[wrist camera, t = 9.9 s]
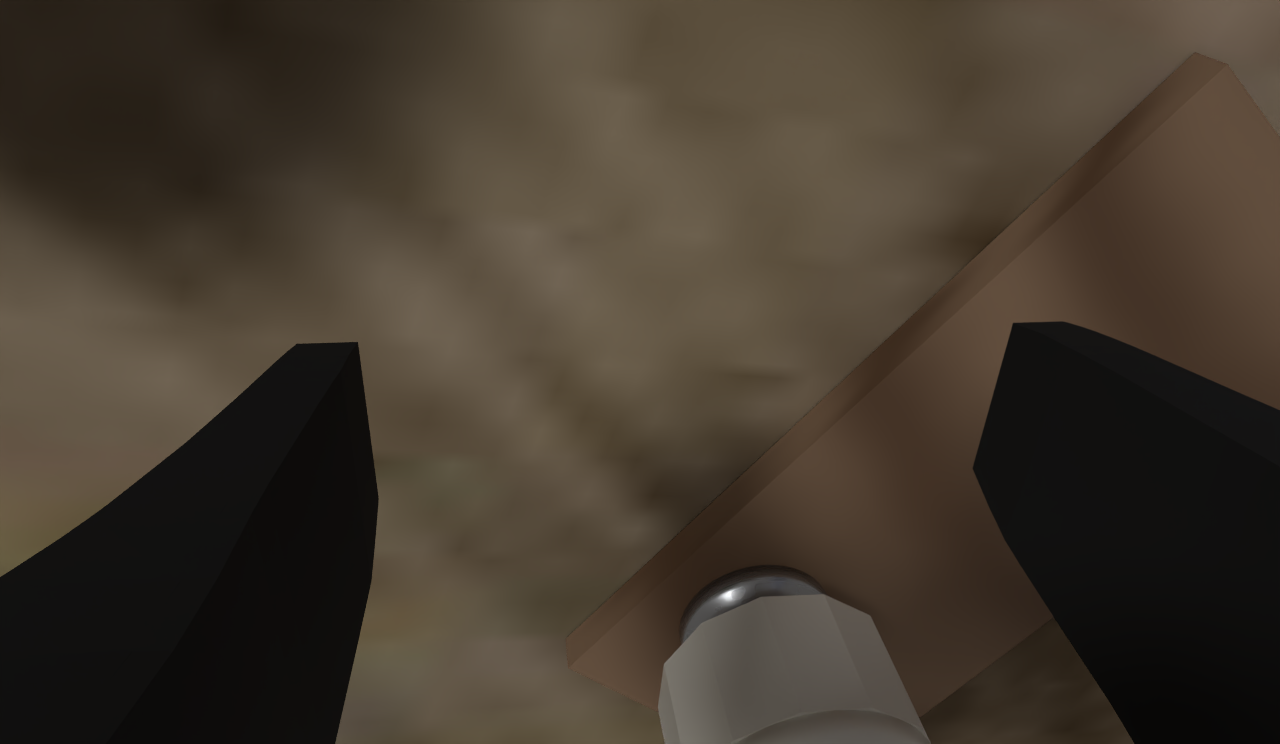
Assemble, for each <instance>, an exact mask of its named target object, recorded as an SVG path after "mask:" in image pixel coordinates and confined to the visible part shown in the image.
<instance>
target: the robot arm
mask: <svg viewBox="0 0 1280 744" xmlns="http://www.w3.org/2000/svg"><path fill="white" fill-rule="evenodd" d="M972 469H973V471H974V473H975V476H976V478H977V480H978V483H979V485H980V487H981V490H982V492H983V494H984V497H985V499H986V501H987V504H988V506H989V508H990V510H991V513H992V515H993V517H994V519H995V521H996V523H997V525H998V527H999V529H1000V531H1001V533H1002V535H1003V537H1004V540H1005V541H1006V543H1007V545H1008V546H1009V548H1010V550H1011V551H1012V553H1013V554H1014V556H1015V558H1016V559H1017V561H1018V562H1019V564H1020V566H1021V567H1022V569H1023V570H1024V572H1025V573H1026V575H1027V576H1028V578H1029V580H1030V581H1031V583H1032V584H1033V586H1034V587H1035V589H1036V591H1037V592H1038V594H1039V595H1040V597H1041V598H1042V600H1043V601H1044V603H1045V604H1046V606H1047V607H1048V609H1049V610H1050V612H1051V614H1052V615H1053V617H1054V618H1055V620H1056V621H1057V623H1058V624H1059V626H1060V627H1061V629H1062V630H1063V632H1064V633H1065V635H1066V636H1067V638H1068V639H1069V641H1070V642H1071V644H1072V645H1073V647H1074V648H1075V650H1076V652H1077V653H1078V655H1079V656H1080V658H1081V659H1082V661H1083V662H1084V664H1085V665H1086V667H1087V668H1088V670H1089V671H1090V673H1091V674H1092V676H1093V677H1094V679H1095V680H1096V682H1097V683H1098V685H1099V687H1100V688H1101V690H1102V691H1103V693H1104V694H1105V696H1106V697H1107V699H1108V700H1109V702H1110V703H1111V705H1112V707H1113V708H1114V710H1115V712H1116V713H1117V715H1118V717H1119V718H1120V720H1121V722H1122V723H1123V725H1124V727H1125V728H1126V730H1127V732H1128V733H1129V735H1130V737H1131V738H1132V740H1133V742H1134V743H1135V744H1280V410H1278V409H1276V408H1274V407H1271V406H1269V405H1267V404H1264V403H1262V402H1260V401H1257V400H1255V399H1253V398H1250V397H1248V396H1246V395H1244V394H1241V393H1239V392H1237V391H1234V390H1232V389H1230V388H1228V387H1225V386H1223V385H1221V384H1218V383H1216V382H1214V381H1212V380H1209V379H1207V378H1205V377H1203V376H1200V375H1198V374H1196V373H1194V372H1191V371H1189V370H1187V369H1184V368H1182V367H1180V366H1178V365H1175V364H1173V363H1171V362H1168V361H1166V360H1164V359H1162V358H1159V357H1157V356H1155V355H1152V354H1150V353H1148V352H1146V351H1143V350H1141V349H1138V348H1136V347H1134V346H1131V345H1129V344H1126V343H1124V342H1121V341H1119V340H1117V339H1114V338H1112V337H1109V336H1106V335H1104V334H1101V333H1099V332H1096V331H1093V330H1090V329H1087V328H1084V327H1081V326H1078V325H1074V324H1071V323H1068V322H1064V321H1056V322H1022V323H1013V324H1012V328H1011V332H1010V335H1009V339H1008V342H1007V346H1006V350H1005V353H1004V357H1003V360H1002V364H1001V368H1000V371H999V375H998V378H997V382H996V385H995V389H994V393H993V396H992V400H991V403H990V407H989V411H988V414H987V418H986V421H985V425H984V429H983V432H982V436H981V439H980V443H979V447H978V450H977V454H976V457H975V461H974V464H973V468H972ZM378 500H379V498H378V491H377V483H376V476H375V468H374V460H373V453H372V445H371V438H370V430H369V423H368V415H367V408H366V400H365V393H364V385H363V377H362V370H361V362H360V355H359V347H358V342H345V343H311V344H296V345H295V346H294V347H292V348H291V349H290V350H289V351H287V352H286V353H285V354H284V355H283V356H282V357H281V358H280V359H278V360H277V361H276V362H275V363H274V364H273V365H272V366H271V367H270V368H269V369H267V370H266V371H265V372H264V373H263V374H262V375H261V376H260V377H259V378H258V379H257V380H256V381H254V382H253V383H252V384H251V385H250V386H249V387H248V388H247V389H246V390H245V391H244V392H243V393H241V394H240V395H239V396H238V397H237V398H236V399H235V400H234V401H233V402H231V403H230V404H229V405H228V406H227V407H226V408H225V409H224V410H222V411H221V412H220V413H219V414H218V415H217V416H216V417H214V418H213V419H212V420H211V421H210V422H209V423H208V424H207V425H205V426H204V427H203V428H202V429H201V430H200V431H199V432H197V433H196V434H195V435H194V436H193V437H192V438H191V439H190V440H188V441H187V442H186V443H185V444H184V445H182V446H181V447H180V448H179V449H177V450H176V451H175V452H174V453H172V454H171V455H170V456H169V457H167V458H166V459H165V460H163V461H162V462H161V463H160V464H158V465H157V466H156V467H155V468H153V469H152V470H151V471H150V472H148V473H147V474H146V475H145V476H143V477H142V478H141V479H139V480H138V481H137V482H136V483H134V484H133V485H132V486H131V487H129V488H128V489H127V490H126V491H124V492H123V493H122V494H120V495H119V496H118V497H117V498H115V499H114V500H113V501H112V502H110V503H109V504H108V505H106V506H105V507H104V508H102V509H101V510H100V511H98V512H97V513H95V514H94V515H93V516H91V517H90V518H89V519H87V520H86V521H84V522H83V523H81V524H80V525H79V526H77V527H76V528H74V529H73V530H71V531H70V532H69V533H67V534H66V535H64V536H63V537H61V538H60V539H58V540H57V541H55V542H54V543H52V544H51V545H49V546H48V547H46V548H45V549H43V550H42V551H40V552H38V553H37V554H35V555H34V556H32V557H31V558H29V559H28V560H26V561H25V562H23V563H22V564H20V565H18V566H17V567H15V568H14V569H12V570H11V571H9V572H8V573H6V574H5V575H3V576H1V577H0V744H335V742H336V737H337V733H338V728H339V724H340V719H341V715H342V711H343V706H344V702H345V697H346V693H347V689H348V684H349V680H350V675H351V671H352V666H353V662H354V658H355V653H356V649H357V644H358V640H359V635H360V631H361V626H362V622H363V617H364V613H365V608H366V603H367V599H368V594H369V589H370V585H371V579H372V569H373V559H374V548H375V537H376V525H377V512H378Z"/></svg>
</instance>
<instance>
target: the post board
mask: <svg viewBox="0 0 1280 744" xmlns="http://www.w3.org/2000/svg"><path fill="white" fill-rule="evenodd" d="M1056 321H1064V322H1068V323H1071V324H1074V325H1078V326H1081V327H1084V328H1087V329H1090V330H1093V331H1096V332H1099V333H1101V334H1104V335H1106V336H1109V337H1112V338H1114V339H1117V340H1119V341H1121V342H1124V343H1126V344H1129V345H1131V346H1134V347H1136V348H1138V349H1141V350H1143V351H1146V352H1148V353H1150V354H1152V355H1155V356H1157V357H1159V358H1162V359H1164V360H1166V361H1168V362H1171V363H1173V364H1175V365H1178V366H1180V367H1182V368H1184V369H1187V370H1189V371H1191V372H1194V373H1196V374H1198V375H1200V376H1203V377H1205V378H1207V379H1209V380H1212V381H1214V382H1216V383H1218V384H1221V385H1223V386H1225V387H1228V388H1230V389H1232V390H1234V391H1237V392H1239V393H1241V394H1244V395H1246V396H1248V397H1250V398H1253V399H1255V400H1257V401H1260V402H1262V403H1264V404H1267V405H1269V406H1271V407H1274V408H1276V409H1278V410H1280V137H1279V136H1278V134H1277V133H1276V131H1275V130H1274V129H1273V127H1272V126H1271V124H1270V123H1269V122H1268V120H1267V119H1266V117H1265V116H1264V115H1263V113H1262V112H1261V110H1260V109H1259V108H1258V106H1257V105H1256V103H1255V102H1254V101H1253V99H1252V98H1251V96H1250V95H1249V94H1248V92H1247V91H1246V89H1245V88H1244V87H1243V85H1242V84H1241V82H1240V81H1239V79H1238V78H1237V77H1236V75H1235V74H1234V72H1233V71H1232V70H1231V68H1230V67H1229V65H1228V64H1225V63H1223V62H1220V61H1217V60H1215V59H1212V58H1209V57H1206V56H1204V55H1201V54H1198V53H1194V54H1193V55H1192V56H1191V57H1189V58H1188V59H1187V60H1186V61H1185V62H1184V63H1183V64H1182V65H1181V66H1180V67H1179V68H1178V69H1177V70H1176V71H1174V72H1173V73H1172V74H1171V75H1170V76H1169V77H1168V78H1167V79H1166V80H1165V81H1164V82H1163V83H1162V84H1160V85H1159V86H1158V87H1157V88H1156V89H1155V90H1154V91H1153V92H1152V93H1151V94H1150V95H1149V96H1148V97H1147V98H1145V99H1144V100H1143V101H1142V102H1141V103H1140V104H1139V105H1138V106H1137V107H1136V108H1135V109H1134V110H1133V111H1132V112H1130V113H1129V114H1128V115H1127V116H1126V117H1125V118H1124V119H1123V120H1122V121H1121V122H1120V123H1119V124H1118V125H1116V126H1115V127H1114V128H1113V129H1112V130H1111V131H1110V132H1109V133H1108V134H1107V135H1106V136H1105V137H1104V138H1103V139H1101V140H1100V141H1099V142H1098V143H1097V144H1096V145H1095V146H1094V147H1093V148H1092V149H1091V150H1090V151H1089V152H1088V153H1086V154H1085V155H1084V156H1083V157H1082V158H1081V159H1080V160H1079V161H1078V162H1077V163H1076V164H1075V165H1074V166H1073V167H1071V168H1070V169H1069V170H1068V171H1067V172H1066V173H1065V174H1064V175H1063V176H1062V177H1061V178H1060V179H1059V180H1057V181H1056V182H1055V183H1054V184H1053V185H1052V186H1051V187H1050V188H1049V189H1048V190H1047V191H1046V192H1045V193H1044V194H1042V195H1041V196H1040V197H1039V198H1038V199H1037V200H1036V201H1035V202H1034V203H1033V204H1032V205H1031V206H1030V207H1029V208H1027V209H1026V210H1025V211H1024V212H1023V213H1022V214H1021V215H1020V216H1019V217H1018V218H1017V219H1016V220H1015V221H1014V222H1012V223H1011V224H1010V225H1009V226H1008V227H1007V228H1006V229H1005V230H1004V231H1003V232H1002V233H1001V234H1000V235H998V236H997V237H996V238H995V239H994V240H993V241H992V242H991V243H990V244H989V245H988V246H987V247H986V248H985V249H983V250H982V251H981V252H980V253H979V254H978V255H977V256H976V257H975V258H974V259H973V260H972V261H971V262H970V263H968V264H967V265H966V266H965V267H964V268H963V269H962V270H961V271H960V272H959V273H958V274H957V275H956V276H955V277H953V278H952V279H951V280H950V281H949V282H948V283H947V284H946V285H945V286H944V287H943V288H942V289H941V290H939V291H938V292H937V293H936V294H935V295H934V296H933V297H932V298H931V299H930V300H929V301H928V302H927V303H926V304H924V305H923V306H922V307H921V308H920V309H919V310H918V311H917V312H916V313H915V314H914V315H913V316H912V317H911V318H909V319H908V320H907V321H906V322H905V323H904V324H903V325H902V326H901V327H900V328H899V329H898V330H897V331H895V332H894V333H893V334H892V335H891V336H890V337H889V338H888V339H887V340H886V341H885V342H884V343H883V344H882V345H880V346H879V347H878V348H877V349H876V350H875V351H874V352H873V353H872V354H871V355H870V356H869V357H868V358H867V359H865V360H864V361H863V362H862V363H861V364H860V365H859V366H858V367H857V368H856V369H855V370H854V371H853V372H852V373H850V374H849V375H848V376H847V377H846V378H845V379H844V380H843V381H842V382H841V383H840V384H839V385H838V386H836V387H835V388H834V389H833V390H832V391H831V392H830V393H829V394H828V395H827V396H826V397H825V398H824V399H823V400H821V401H820V402H819V403H818V404H817V405H816V406H815V407H814V408H813V409H812V410H811V411H810V412H809V413H808V414H806V415H805V416H804V417H803V418H802V419H801V420H800V421H799V422H798V423H797V424H796V425H795V426H794V427H793V428H791V429H790V430H789V431H788V432H787V433H786V434H785V435H784V436H783V437H782V438H781V439H780V440H779V441H777V442H776V443H775V444H774V445H773V446H772V447H771V448H770V449H769V450H768V451H767V452H766V453H765V454H764V455H762V456H761V457H760V458H759V459H758V460H757V461H756V462H755V463H754V464H753V465H752V466H751V467H750V468H749V469H747V470H746V471H745V472H744V473H743V474H742V475H741V476H740V477H739V478H738V479H737V480H736V481H735V482H734V483H732V484H731V485H730V486H729V487H728V488H727V489H726V490H725V491H724V492H723V493H722V494H721V495H720V496H718V497H717V498H716V499H715V500H714V501H713V502H712V503H711V504H710V505H709V506H708V507H707V508H706V509H705V510H703V511H702V512H701V513H700V514H699V515H698V516H697V517H696V518H695V519H694V520H693V521H692V522H691V523H690V524H688V525H687V526H686V527H685V528H684V529H683V530H682V531H681V532H680V533H679V534H678V535H677V536H676V537H675V538H673V539H672V540H671V541H670V542H669V543H668V544H667V545H666V546H665V547H664V548H663V549H662V550H661V551H659V552H658V553H657V554H656V555H655V556H654V557H653V558H652V559H651V560H650V561H649V562H648V563H647V564H646V565H644V566H643V567H642V568H641V569H640V570H639V571H638V572H637V573H636V574H635V575H634V576H633V577H632V578H631V579H629V580H628V581H627V582H626V583H625V584H624V585H623V586H622V587H621V588H620V589H619V590H618V591H617V592H615V593H614V594H613V595H612V596H611V597H610V598H609V599H608V600H607V601H606V602H605V603H604V604H603V605H602V606H600V607H599V608H598V609H597V610H596V611H595V612H594V613H593V614H592V615H591V616H590V617H589V618H588V619H587V620H585V621H584V622H583V623H582V624H581V625H580V626H579V627H578V628H577V629H576V630H575V631H574V632H573V633H572V634H570V635H569V636H568V637H567V638H566V648H567V660H568V668H569V669H571V670H573V671H575V672H577V673H579V674H581V675H583V676H585V677H587V678H589V679H591V680H594V681H596V682H598V683H600V684H602V685H604V686H606V687H608V688H610V689H612V690H614V691H616V692H618V693H620V694H622V695H624V696H626V697H628V698H630V699H632V700H634V701H636V702H638V703H640V704H642V705H644V706H646V707H648V708H650V709H652V710H654V711H656V712H659V710H658V702H659V695H660V688H661V681H662V674H663V667H664V663H665V662H666V661H667V660H668V659H669V658H670V657H671V656H672V655H673V654H674V652H675V651H676V650H677V649H678V648H679V647H680V646H681V645H682V644H683V643H684V642H685V640H686V639H687V638H688V637H689V636H690V635H691V634H692V633H693V632H694V631H695V630H696V628H697V627H698V626H699V625H700V624H701V623H702V622H705V621H707V620H709V619H712V618H714V617H716V616H718V615H721V614H723V613H725V612H728V611H730V610H732V609H734V608H737V607H739V606H741V605H743V604H746V603H748V602H750V601H753V600H755V599H757V598H759V597H767V596H792V595H817V594H825V595H827V596H829V597H831V598H833V599H835V600H838V601H840V602H842V603H844V604H846V605H849V606H851V607H853V608H855V609H857V610H860V611H862V612H864V613H866V614H868V615H870V616H871V618H872V620H873V622H874V624H875V626H876V628H877V631H878V633H879V635H880V637H881V639H882V641H883V643H884V645H885V647H886V649H887V651H888V654H889V656H890V658H891V660H892V662H893V664H894V666H895V668H896V670H897V673H898V675H899V677H900V679H901V681H902V683H903V685H904V687H905V689H906V692H907V694H908V696H909V698H910V700H911V702H912V704H913V706H914V708H915V711H916V713H917V715H918V717H919V718H920V717H922V716H923V715H924V714H926V713H927V712H928V711H930V710H931V709H932V708H934V707H935V706H936V705H938V704H939V703H940V702H942V701H943V700H944V699H946V698H947V697H948V696H950V695H951V694H952V693H954V692H955V691H956V690H958V689H959V688H960V687H962V686H963V685H964V684H966V683H967V682H968V681H970V680H971V679H972V678H974V677H975V676H976V675H978V674H979V673H980V672H982V671H983V670H984V669H986V668H987V667H988V666H990V665H991V664H992V663H994V662H995V661H996V660H998V659H999V658H1000V657H1002V656H1003V655H1004V654H1006V653H1007V652H1008V651H1010V650H1011V649H1012V648H1014V647H1015V646H1016V645H1018V644H1019V643H1020V642H1022V641H1023V640H1024V639H1026V638H1027V637H1028V636H1030V635H1031V634H1032V633H1034V632H1035V631H1036V630H1038V629H1039V628H1040V627H1042V626H1043V625H1044V624H1046V623H1047V622H1048V621H1050V620H1051V619H1052V618H1054V617H1053V615H1052V614H1051V612H1050V610H1049V609H1048V607H1047V606H1046V604H1045V603H1044V601H1043V600H1042V598H1041V597H1040V595H1039V594H1038V592H1037V591H1036V589H1035V587H1034V586H1033V584H1032V583H1031V581H1030V580H1029V578H1028V576H1027V575H1026V573H1025V572H1024V570H1023V569H1022V567H1021V566H1020V564H1019V562H1018V561H1017V559H1016V558H1015V556H1014V554H1013V553H1012V551H1011V550H1010V548H1009V546H1008V545H1007V543H1006V541H1005V540H1004V537H1003V535H1002V533H1001V531H1000V529H999V527H998V525H997V523H996V521H995V519H994V517H993V515H992V513H991V510H990V508H989V506H988V504H987V501H986V499H985V497H984V494H983V492H982V490H981V487H980V485H979V483H978V480H977V478H976V476H975V473H974V471H973V469H972V468H973V464H974V461H975V457H976V454H977V450H978V447H979V443H980V439H981V436H982V432H983V429H984V425H985V421H986V418H987V414H988V411H989V407H990V403H991V400H992V396H993V393H994V389H995V385H996V382H997V378H998V375H999V371H1000V368H1001V364H1002V360H1003V357H1004V353H1005V350H1006V346H1007V342H1008V339H1009V335H1010V332H1011V328H1012V324H1013V323H1022V322H1056Z"/></svg>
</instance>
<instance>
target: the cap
mask: <svg viewBox="0 0 1280 744" xmlns="http://www.w3.org/2000/svg"><path fill="white" fill-rule="evenodd" d="M658 710H659V715H660V721H661V726H662V731H663V736H664V741H665V744H931V742H930V740H929V738H928V736H927V734H926V732H925V730H924V727H923V725H922V723H921V721H920V719H919V717H918V715H917V713H916V711H915V708H914V706H913V704H912V702H911V700H910V698H909V696H908V694H907V692H906V689H905V687H904V685H903V683H902V681H901V679H900V677H899V675H898V673H897V670H896V668H895V666H894V664H893V662H892V660H891V658H890V656H889V654H888V651H887V649H886V647H885V645H884V643H883V641H882V639H881V637H880V635H879V633H878V631H877V628H876V626H875V624H874V622H873V620H872V618H871V616H870V615H868V614H866V613H864V612H862V611H860V610H857V609H855V608H853V607H851V606H849V605H846V604H844V603H842V602H840V601H838V600H835V599H833V598H831V597H829V596H827V595H825V594H817V595H792V596H767V597H759V598H757V599H755V600H753V601H750V602H748V603H746V604H743V605H741V606H739V607H737V608H734V609H732V610H730V611H728V612H725V613H723V614H721V615H718V616H716V617H714V618H712V619H709V620H707V621H705V622H702V623H701V624H700V625H699V626H698V627H697V628H696V630H695V631H694V632H693V633H692V634H691V635H690V636H689V637H688V638H687V639H686V640H685V642H684V643H683V644H682V645H681V646H680V647H679V648H678V649H677V650H676V651H675V652H674V654H673V655H672V656H671V657H670V658H669V659H668V660H667V661H666V662H665V663H664V667H663V674H662V681H661V688H660V695H659V702H658Z"/></svg>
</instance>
